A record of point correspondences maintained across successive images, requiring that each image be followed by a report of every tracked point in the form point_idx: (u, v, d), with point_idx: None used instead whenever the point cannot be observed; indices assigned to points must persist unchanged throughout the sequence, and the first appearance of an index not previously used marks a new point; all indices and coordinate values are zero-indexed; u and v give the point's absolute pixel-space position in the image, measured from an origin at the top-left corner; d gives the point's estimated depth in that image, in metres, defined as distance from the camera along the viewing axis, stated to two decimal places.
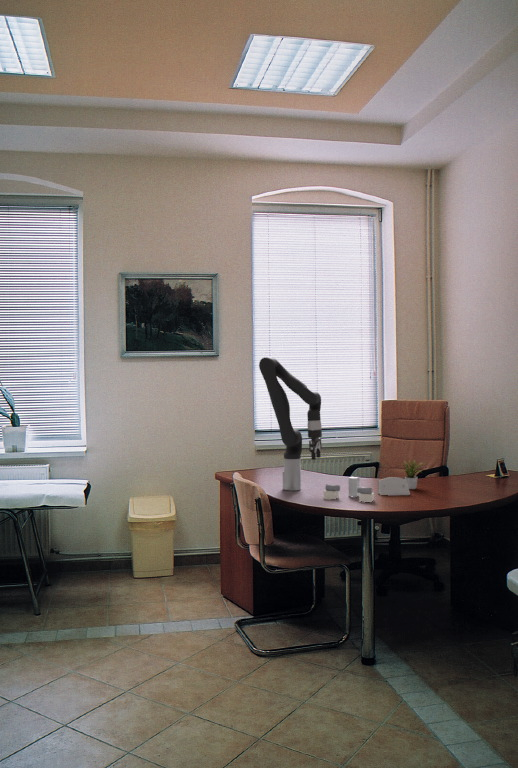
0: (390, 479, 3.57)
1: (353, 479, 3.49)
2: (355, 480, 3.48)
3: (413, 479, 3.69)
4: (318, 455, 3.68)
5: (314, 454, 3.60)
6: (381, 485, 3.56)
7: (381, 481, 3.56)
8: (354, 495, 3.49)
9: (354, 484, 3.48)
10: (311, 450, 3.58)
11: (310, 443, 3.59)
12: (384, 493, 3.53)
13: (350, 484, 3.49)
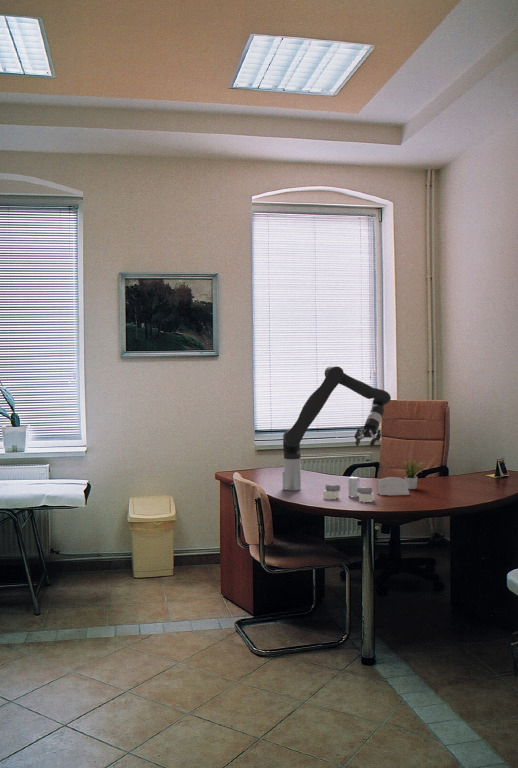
0: (389, 479, 3.57)
1: (353, 479, 3.49)
2: (355, 480, 3.48)
3: (413, 479, 3.69)
4: (358, 443, 3.62)
5: None
6: (381, 485, 3.55)
7: (381, 481, 3.56)
8: (354, 495, 3.49)
9: (354, 484, 3.48)
10: (378, 438, 3.58)
11: (380, 432, 3.60)
12: (384, 493, 3.53)
13: (350, 484, 3.49)
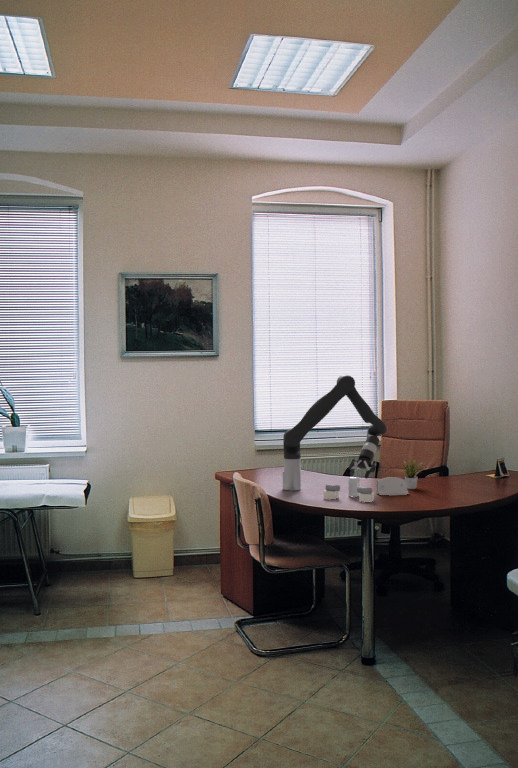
0: (388, 479, 3.57)
1: (353, 479, 3.49)
2: (355, 480, 3.48)
3: (413, 479, 3.69)
4: (352, 473, 3.58)
5: None
6: (380, 485, 3.55)
7: (380, 481, 3.56)
8: (354, 495, 3.49)
9: (354, 484, 3.48)
10: (373, 470, 3.54)
11: (375, 463, 3.56)
12: (384, 493, 3.53)
13: (350, 484, 3.49)
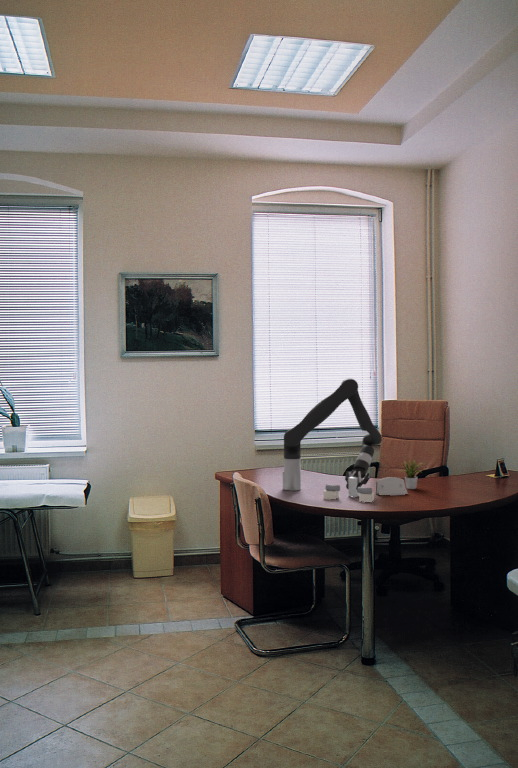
0: (388, 479, 3.57)
1: (353, 479, 3.49)
2: (355, 480, 3.48)
3: (413, 479, 3.69)
4: None
5: None
6: (379, 485, 3.55)
7: (379, 481, 3.55)
8: (354, 495, 3.49)
9: (354, 484, 3.48)
10: (365, 482, 3.49)
11: (368, 476, 3.50)
12: (383, 493, 3.53)
13: (350, 484, 3.49)
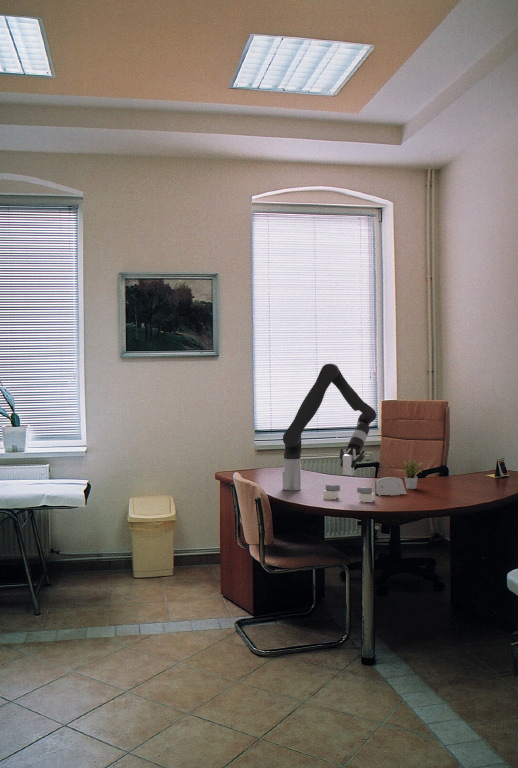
0: (387, 479, 3.57)
1: (347, 456, 3.40)
2: (350, 457, 3.40)
3: (413, 479, 3.69)
4: None
5: None
6: (379, 485, 3.54)
7: (378, 481, 3.55)
8: (349, 473, 3.40)
9: (349, 462, 3.40)
10: (360, 459, 3.40)
11: (363, 453, 3.42)
12: (383, 493, 3.52)
13: (344, 462, 3.41)
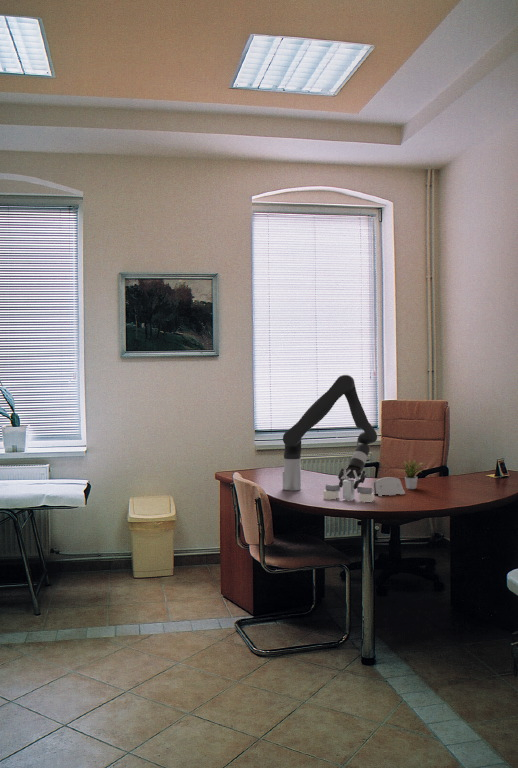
0: (385, 479, 3.57)
1: (347, 482, 3.41)
2: (349, 483, 3.40)
3: (413, 479, 3.69)
4: (341, 484, 3.44)
5: None
6: (378, 486, 3.54)
7: (378, 482, 3.55)
8: (348, 498, 3.41)
9: (348, 487, 3.40)
10: (362, 480, 3.40)
11: (364, 474, 3.42)
12: (382, 493, 3.52)
13: (344, 487, 3.42)
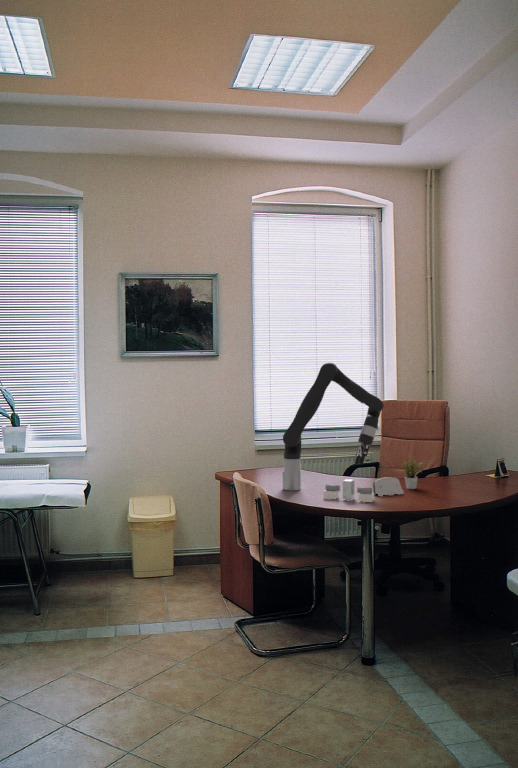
0: (384, 479, 3.56)
1: (347, 482, 3.41)
2: (349, 483, 3.40)
3: (413, 479, 3.69)
4: (357, 461, 3.59)
5: (363, 459, 3.50)
6: (377, 486, 3.54)
7: (377, 482, 3.54)
8: (348, 498, 3.41)
9: (348, 487, 3.40)
10: (364, 454, 3.48)
11: (365, 447, 3.49)
12: (382, 493, 3.52)
13: (344, 487, 3.42)
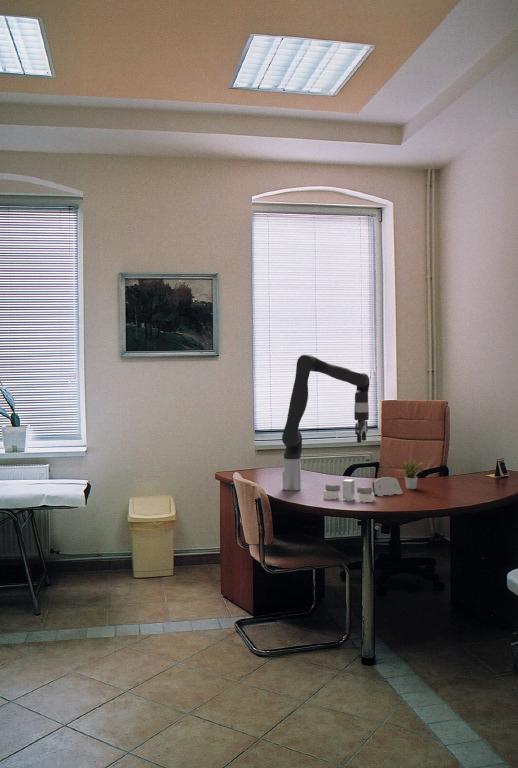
0: (384, 479, 3.56)
1: (347, 482, 3.41)
2: (349, 483, 3.40)
3: (413, 479, 3.69)
4: (363, 438, 3.59)
5: (360, 437, 3.51)
6: (377, 486, 3.53)
7: (376, 482, 3.54)
8: (348, 498, 3.41)
9: (348, 487, 3.40)
10: (357, 433, 3.49)
11: (356, 425, 3.49)
12: (381, 494, 3.52)
13: (344, 487, 3.42)
